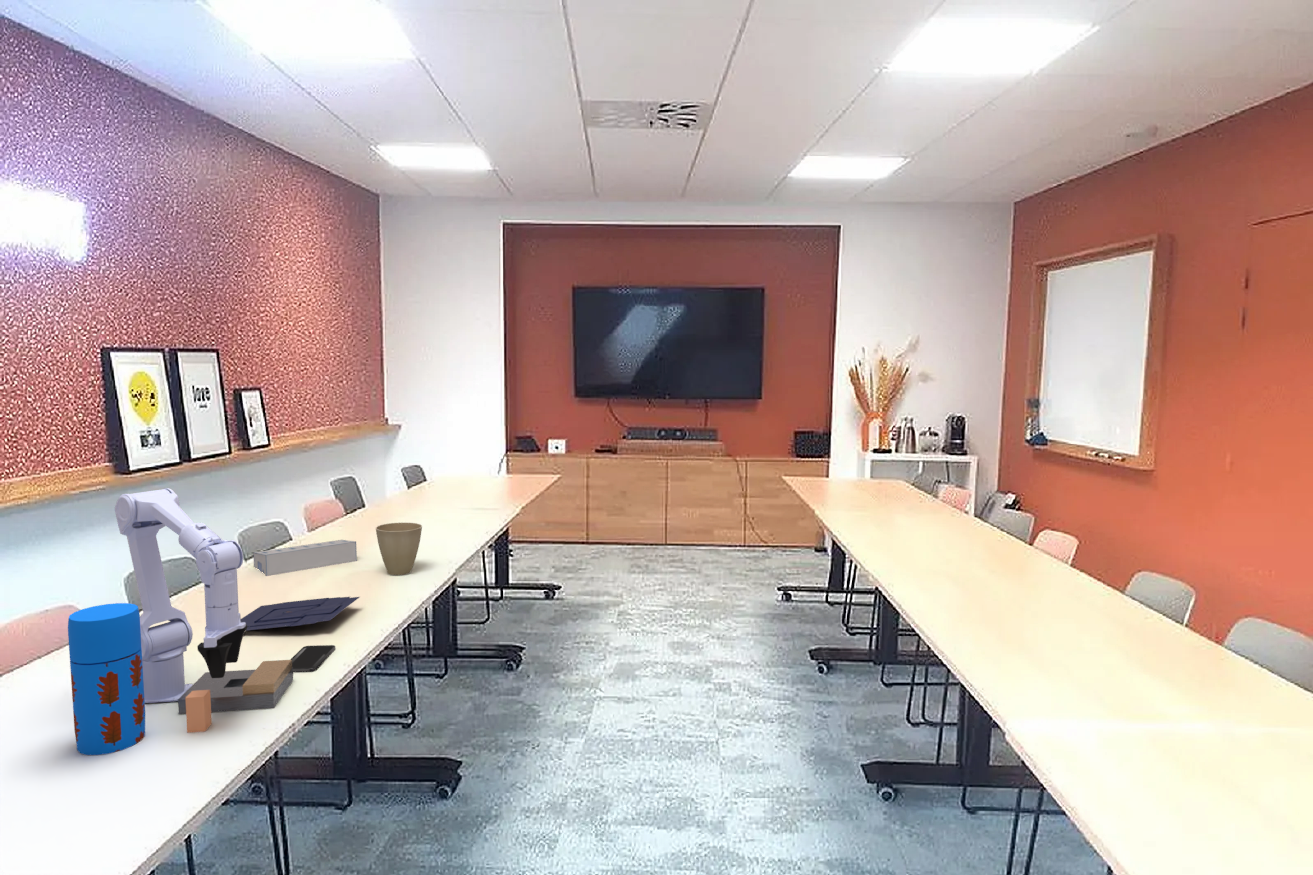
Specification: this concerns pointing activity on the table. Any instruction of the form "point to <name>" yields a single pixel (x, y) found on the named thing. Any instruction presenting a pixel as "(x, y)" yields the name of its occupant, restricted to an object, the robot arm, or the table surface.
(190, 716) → the light brown rectangular block
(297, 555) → the warehouse
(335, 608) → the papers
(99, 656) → the thermos
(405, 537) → the plant pot
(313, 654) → the phone
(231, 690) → the bracket plate
